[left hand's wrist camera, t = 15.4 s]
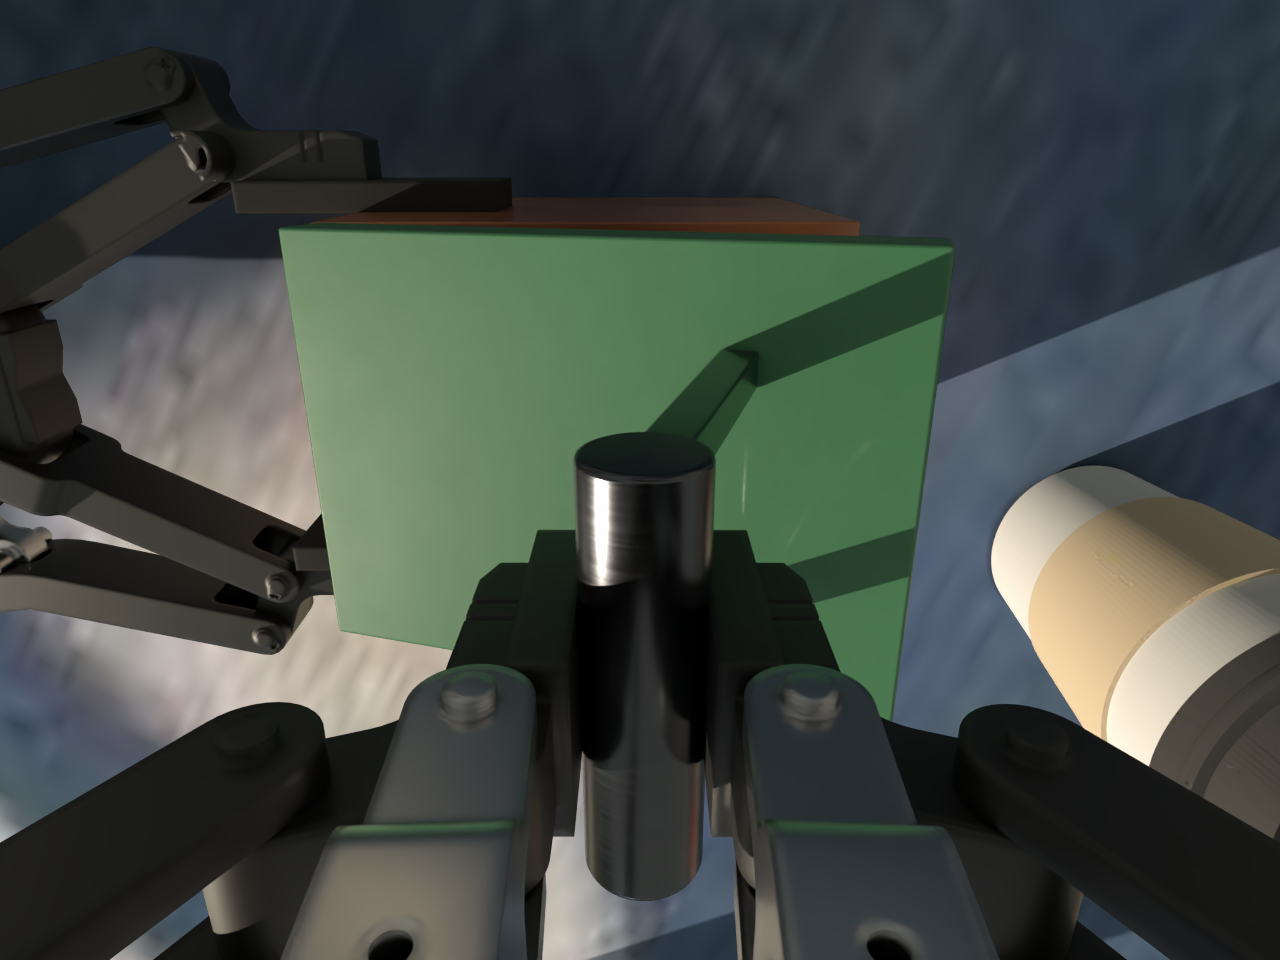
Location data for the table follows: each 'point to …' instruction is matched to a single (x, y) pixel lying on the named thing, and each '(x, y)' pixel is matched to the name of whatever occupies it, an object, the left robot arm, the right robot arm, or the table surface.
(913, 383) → the lid
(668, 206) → the chest
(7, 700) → the table surface
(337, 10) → the table surface
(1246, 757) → the coffee cup
